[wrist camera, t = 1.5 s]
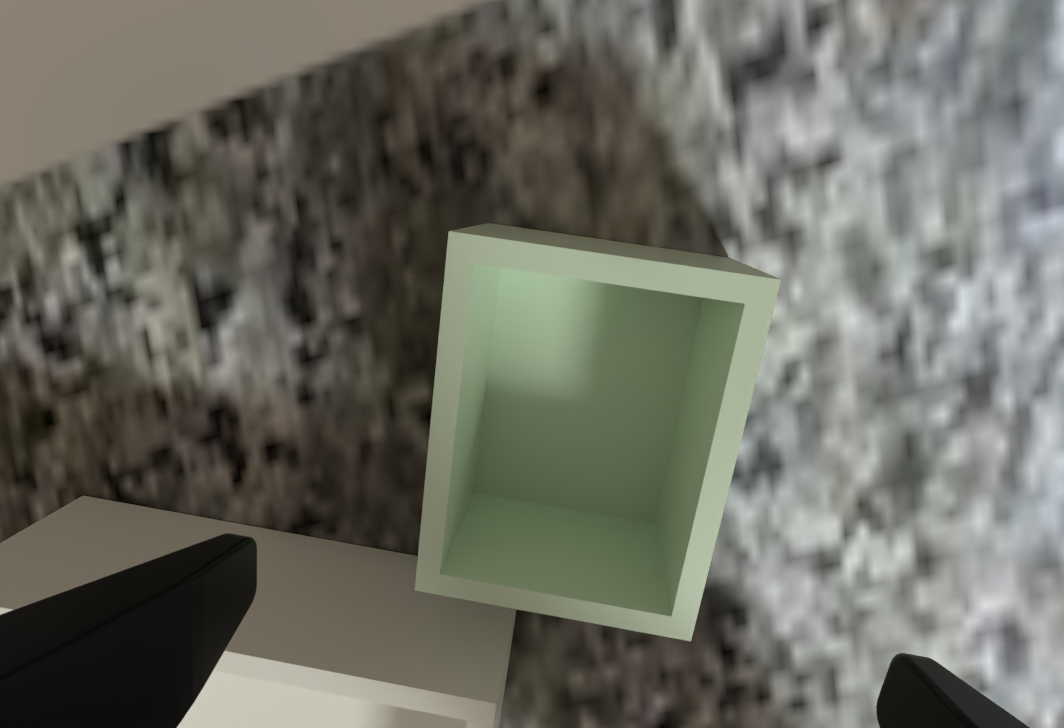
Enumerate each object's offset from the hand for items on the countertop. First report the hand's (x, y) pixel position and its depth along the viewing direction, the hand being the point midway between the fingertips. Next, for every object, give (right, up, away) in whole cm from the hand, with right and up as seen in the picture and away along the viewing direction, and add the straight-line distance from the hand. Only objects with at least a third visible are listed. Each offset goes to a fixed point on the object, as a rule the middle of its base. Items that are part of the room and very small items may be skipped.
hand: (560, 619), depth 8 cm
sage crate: (+1, +3, +10) cm, 11 cm away
